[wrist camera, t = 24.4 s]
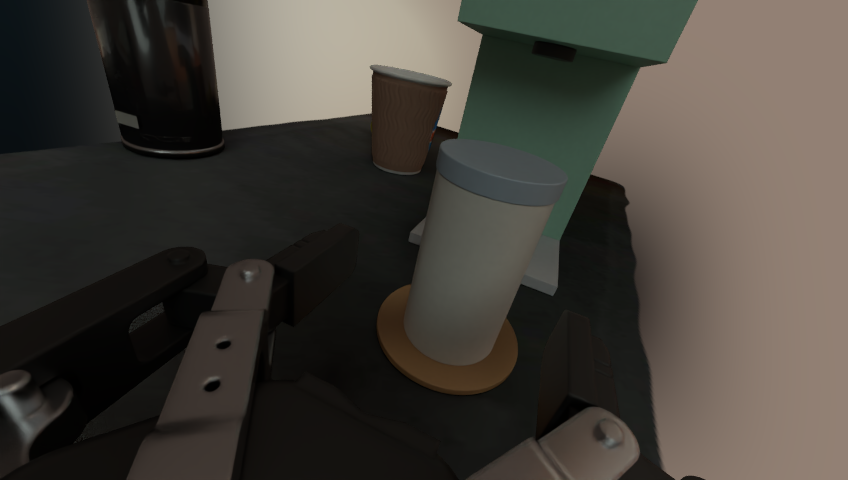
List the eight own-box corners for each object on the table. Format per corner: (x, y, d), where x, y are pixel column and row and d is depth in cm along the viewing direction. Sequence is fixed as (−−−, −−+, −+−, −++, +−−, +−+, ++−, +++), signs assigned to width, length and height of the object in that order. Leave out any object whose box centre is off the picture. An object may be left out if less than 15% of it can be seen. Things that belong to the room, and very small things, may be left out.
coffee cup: (445, 180, 46) (467, 87, 40) (374, 179, 41) (387, 73, 35) (414, 155, 53) (429, 74, 47) (351, 152, 48) (359, 60, 42)
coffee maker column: (555, 249, 34) (669, 6, 24) (439, 209, 37) (495, -23, 27) (557, 226, 39) (650, 19, 29) (455, 192, 42) (507, -6, 32)
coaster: (360, 293, 23) (360, 288, 22) (470, 280, 26) (472, 276, 26) (406, 416, 16) (407, 411, 16) (546, 373, 20) (548, 369, 19)
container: (389, 301, 22) (420, 134, 16) (466, 291, 24) (515, 143, 19) (424, 378, 17) (483, 181, 12) (514, 356, 20) (597, 186, 14)
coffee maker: (552, 296, 27) (716, -28, 16) (408, 241, 30) (468, -63, 19) (555, 248, 34) (669, 6, 24) (440, 208, 37) (496, -23, 27)
